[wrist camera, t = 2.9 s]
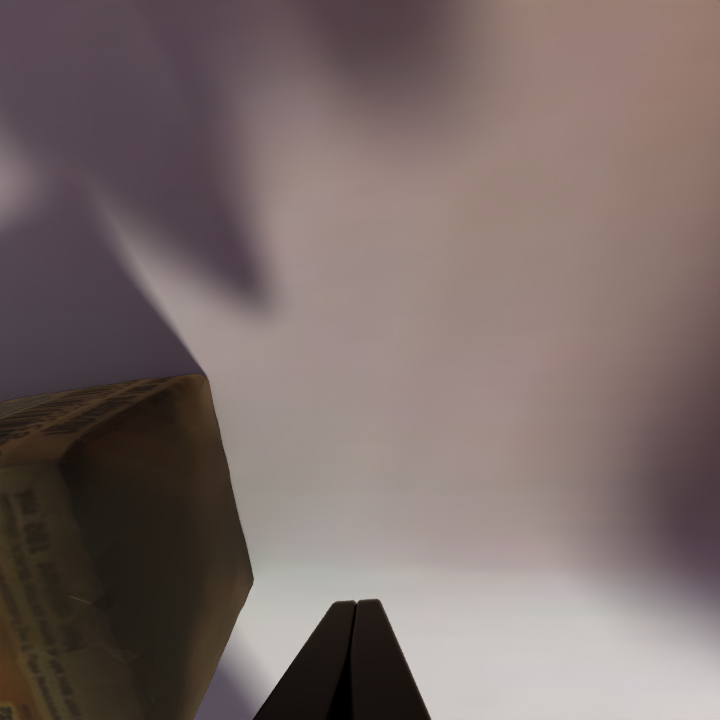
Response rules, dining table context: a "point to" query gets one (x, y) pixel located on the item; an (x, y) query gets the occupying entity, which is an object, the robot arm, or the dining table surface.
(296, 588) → the dining table surface
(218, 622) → the beverage carton
